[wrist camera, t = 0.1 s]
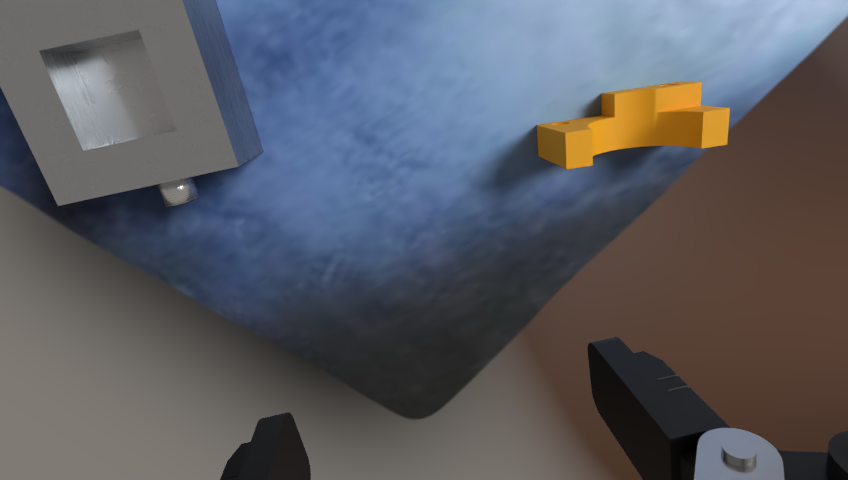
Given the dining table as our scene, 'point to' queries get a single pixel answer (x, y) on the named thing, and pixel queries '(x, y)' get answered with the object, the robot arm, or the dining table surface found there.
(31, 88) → the block
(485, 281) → the dining table surface
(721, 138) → the pipe clamp
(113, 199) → the dining table surface
